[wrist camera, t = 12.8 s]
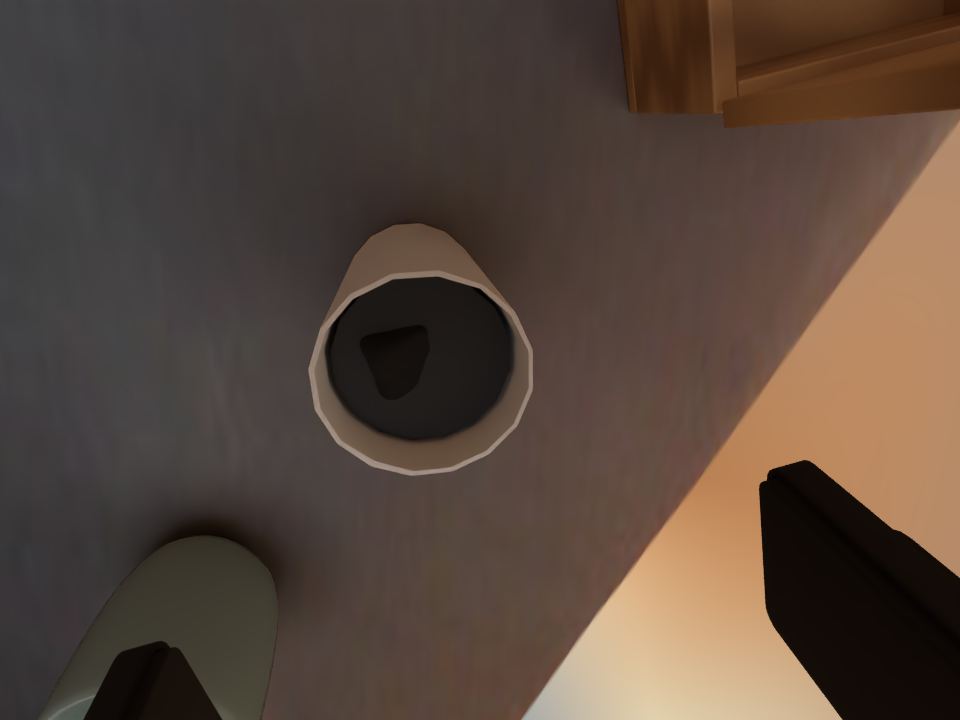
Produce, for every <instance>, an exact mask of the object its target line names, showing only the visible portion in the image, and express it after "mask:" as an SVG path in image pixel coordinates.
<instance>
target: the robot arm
mask: <svg viewBox="0 0 960 720" xmlns="http://www.w3.org/2000/svg"><path fill="white" fill-rule="evenodd" d="M759 495H760V512H761V513H760V514H761V531H762V549H763V567H764V585H765V603H766V610H767V613H768V616H769V618H770V620H771V622H772V624H773V626H774V628H775V629H776V631H777V632H778V633H779V635H780V636H781V637H782V639H783V640H784V642H785V643H786V644H787V646H788V647H789V648H790V650H791V651H792V652H793V654H794V655H795V656H796V658H797V659H798V660H799V662H800V663H801V664H802V666H803V667H804V668H805V670H806V671H807V672H808V674H809V675H810V677H811V678H812V679H813V680H814V682H815V683H816V685H817V686H818V687H819V688H820V690H821V691H822V693H823V694H824V695H825V697H826V698H827V699H828V701H829V702H830V703H831V705H832V706H833V707H834V709H835V710H836V712H837V713H838V714H839V716H840V717H841V718H842V720H960V578H959V577H958V576H956V575H955V574H954V573H953V572H951V571H950V570H949V569H948V568H947V567H946V566H944V565H943V564H942V563H941V562H939V561H938V560H937V559H936V558H934V557H933V556H932V555H931V554H930V553H928V552H927V551H926V550H925V549H924V548H922V547H921V546H920V545H919V544H917V543H916V542H915V541H914V540H913V539H911V538H910V537H908V536H907V535H905V534H903V533H902V532H900V531H897V530H893V529H892V528H891V527H889V526H888V525H887V524H886V523H885V522H883V521H882V520H881V519H880V518H879V517H877V516H876V515H875V514H874V513H873V512H871V511H870V510H869V509H868V508H867V507H865V506H864V505H863V504H862V503H860V502H859V501H858V500H857V499H856V498H854V497H853V496H852V495H851V494H850V493H848V492H847V491H846V490H845V489H844V488H842V487H841V486H840V485H839V484H837V483H836V482H835V481H834V480H833V479H831V478H830V477H829V476H828V475H827V474H826V473H824V472H823V471H822V470H821V469H819V468H818V467H817V466H816V465H815V464H813V463H811V462H810V461H806V460H803V461H799V462H796V463H793V464H789V465H785V466H782V467H778V468H775V469H772V470H770V471H769V473H768V475H767V481H764V482H762V483H760V486H759ZM83 720H222V718H221V717H220V715H219V713H218V712H217V710H216V708H215V707H214V705H213V703H212V702H211V700H210V698H209V696H208V695H207V693H206V691H205V690H204V688H203V686H202V685H201V683H200V681H199V680H198V678H197V676H196V675H195V673H194V671H193V670H192V668H191V666H190V665H189V663H188V661H187V660H186V658H185V656H184V655H183V653H182V652H181V650H180V649H179V648H177V647H172V648H170V646H169V645H168V644H167V643H166V642H164V641H156V642H153V643H149V644H146V645H142V646H139V647H135V648H131V649H128V650H124V651H122V652H121V653H119V654H118V655H117V656H116V658H115V659H114V661H113V662H112V664H111V666H110V668H109V670H108V672H107V674H106V676H105V678H104V680H103V682H102V684H101V686H100V688H99V690H98V692H97V694H96V696H95V698H94V700H93V701H92V703H91V705H90V707H89V709H88V711H87V713H86V715H85V717H84V719H83Z"/></svg>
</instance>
